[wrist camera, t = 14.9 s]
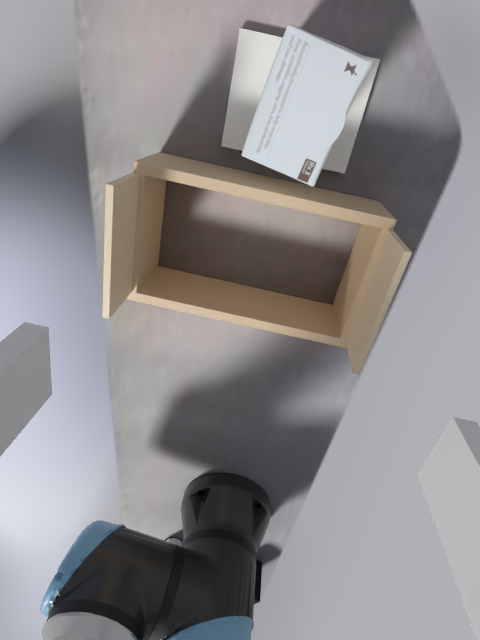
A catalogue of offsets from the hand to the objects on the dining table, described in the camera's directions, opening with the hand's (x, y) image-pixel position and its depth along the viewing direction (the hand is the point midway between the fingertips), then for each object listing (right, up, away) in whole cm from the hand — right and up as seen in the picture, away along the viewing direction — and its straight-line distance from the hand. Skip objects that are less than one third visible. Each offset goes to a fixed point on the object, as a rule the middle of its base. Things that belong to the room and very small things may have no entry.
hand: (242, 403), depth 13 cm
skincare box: (+5, +23, +25) cm, 35 cm away
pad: (+5, +24, +26) cm, 35 cm away
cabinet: (+2, +12, +33) cm, 35 cm away
